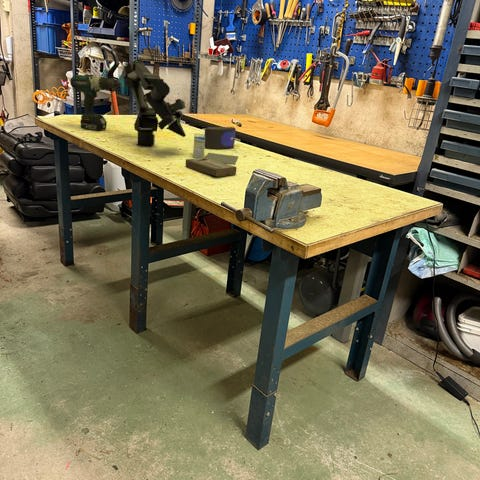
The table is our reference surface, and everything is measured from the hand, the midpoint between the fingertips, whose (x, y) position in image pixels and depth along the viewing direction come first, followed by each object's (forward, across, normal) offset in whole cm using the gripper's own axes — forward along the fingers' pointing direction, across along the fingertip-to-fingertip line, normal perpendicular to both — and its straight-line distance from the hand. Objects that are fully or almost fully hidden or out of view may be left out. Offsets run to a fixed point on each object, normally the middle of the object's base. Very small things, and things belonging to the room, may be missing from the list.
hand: (184, 136), depth 175 cm
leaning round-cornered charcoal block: (+14, +22, -2) cm, 26 cm away
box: (+16, -20, -5) cm, 26 cm away
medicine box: (+10, 0, +1) cm, 10 cm away
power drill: (-29, +28, +40) cm, 56 cm away
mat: (+16, 0, -6) cm, 17 cm away
